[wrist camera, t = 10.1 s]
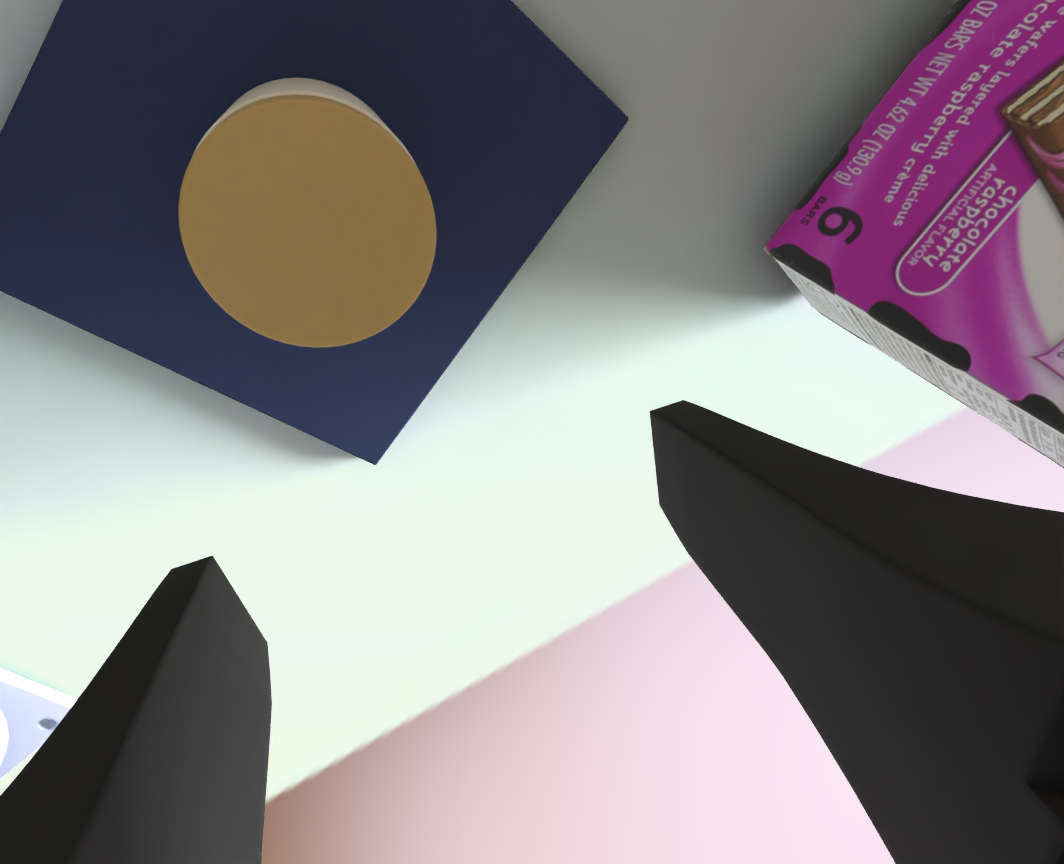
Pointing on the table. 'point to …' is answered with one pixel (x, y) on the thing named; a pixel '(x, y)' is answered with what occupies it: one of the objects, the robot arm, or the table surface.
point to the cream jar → (307, 216)
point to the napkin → (203, 97)
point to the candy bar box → (955, 219)
